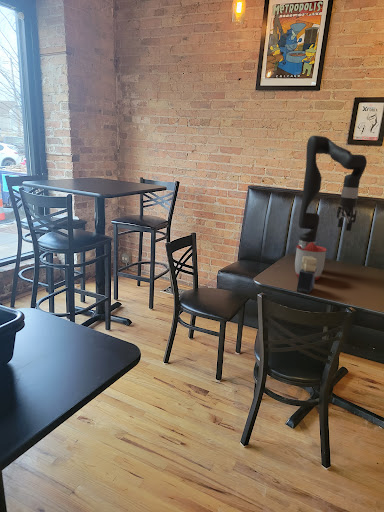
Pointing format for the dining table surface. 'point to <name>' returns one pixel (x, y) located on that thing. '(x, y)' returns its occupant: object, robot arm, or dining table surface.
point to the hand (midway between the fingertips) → (343, 228)
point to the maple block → (309, 263)
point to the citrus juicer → (310, 251)
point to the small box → (306, 281)
